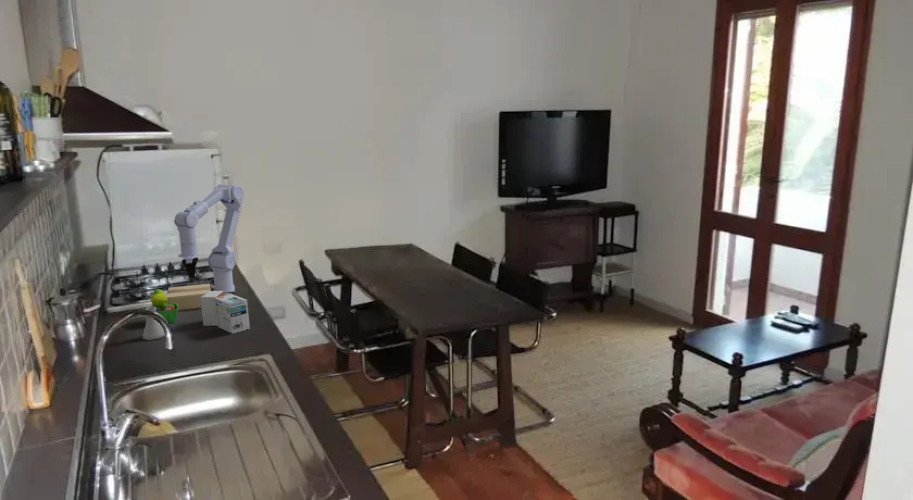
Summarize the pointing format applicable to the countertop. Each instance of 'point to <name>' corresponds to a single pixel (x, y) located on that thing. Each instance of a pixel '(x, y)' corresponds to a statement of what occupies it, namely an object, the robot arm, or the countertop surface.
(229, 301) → the light bulb box
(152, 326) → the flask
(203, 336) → the countertop surface
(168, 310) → the fruit basket
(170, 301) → the cardboard box
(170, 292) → the cardboard lid
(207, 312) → the small box
